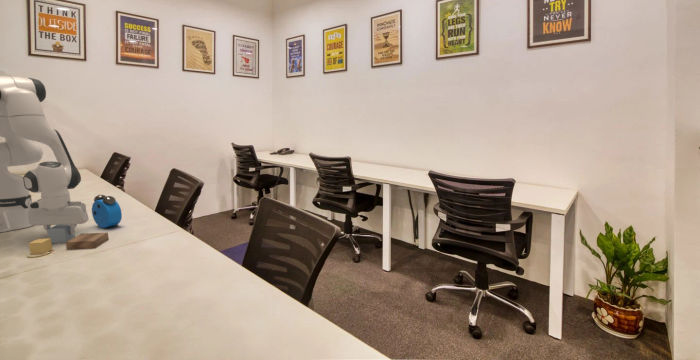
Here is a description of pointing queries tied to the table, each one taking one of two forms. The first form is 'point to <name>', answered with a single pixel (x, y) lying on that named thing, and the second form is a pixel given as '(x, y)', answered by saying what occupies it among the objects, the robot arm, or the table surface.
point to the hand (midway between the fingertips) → (61, 234)
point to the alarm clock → (106, 211)
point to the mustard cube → (40, 246)
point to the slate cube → (60, 233)
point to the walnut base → (87, 241)
